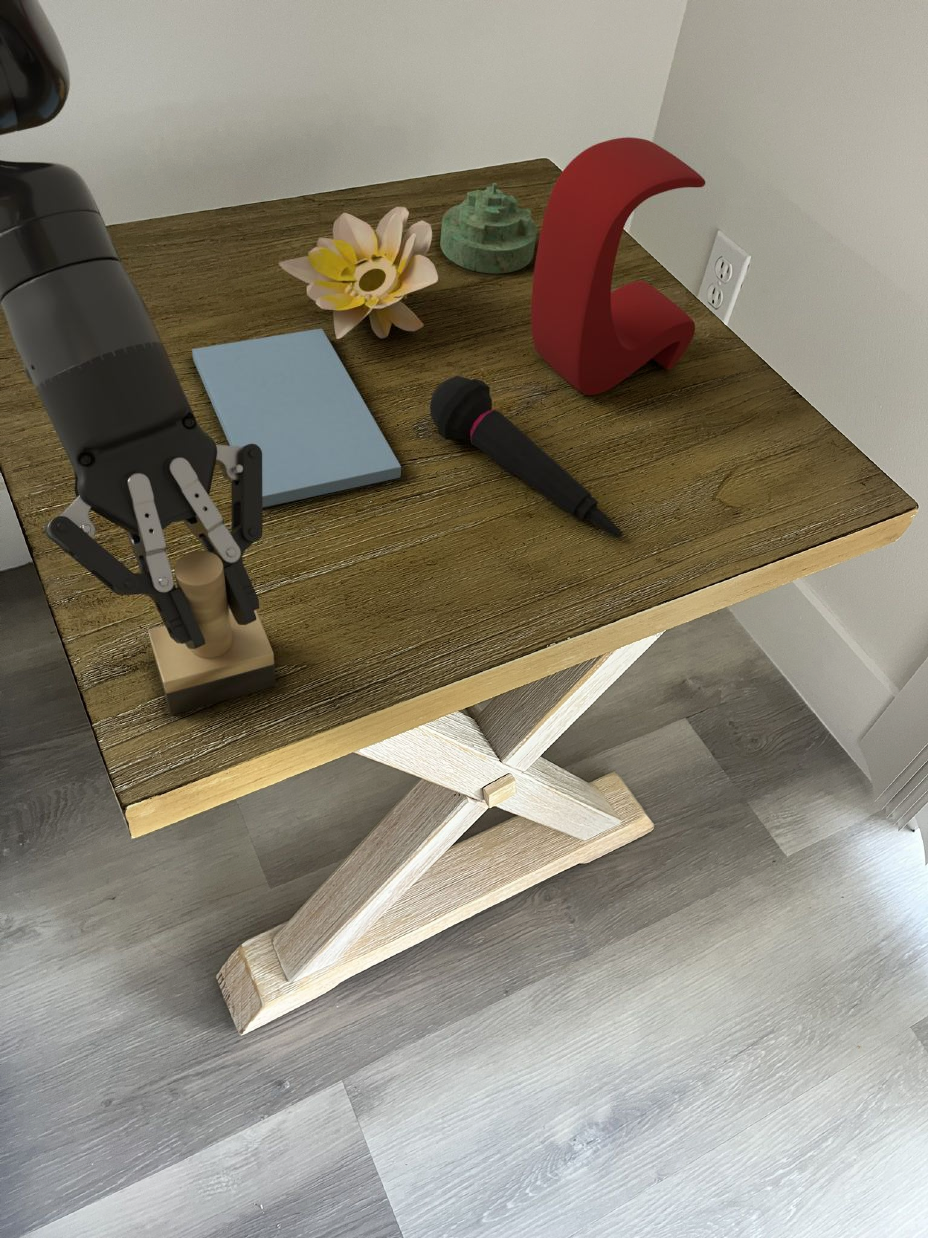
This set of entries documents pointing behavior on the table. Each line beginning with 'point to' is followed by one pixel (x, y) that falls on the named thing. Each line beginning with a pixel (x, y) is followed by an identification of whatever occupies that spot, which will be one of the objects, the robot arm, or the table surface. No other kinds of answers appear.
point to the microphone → (509, 447)
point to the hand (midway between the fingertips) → (222, 632)
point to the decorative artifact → (488, 233)
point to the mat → (296, 415)
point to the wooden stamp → (211, 643)
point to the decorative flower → (368, 271)
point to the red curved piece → (604, 269)
